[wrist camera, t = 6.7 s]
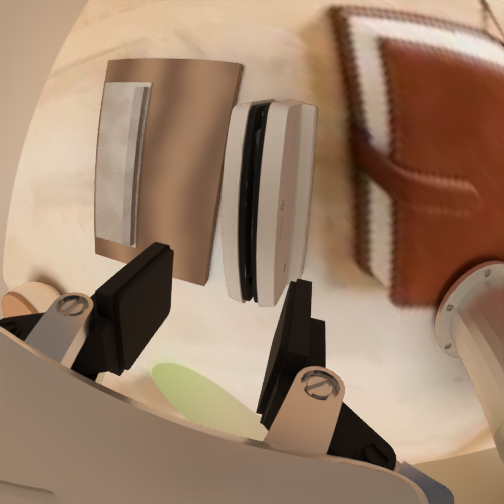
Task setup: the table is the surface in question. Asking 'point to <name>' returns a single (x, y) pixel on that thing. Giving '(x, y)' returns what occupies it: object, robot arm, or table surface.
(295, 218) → the white arched block
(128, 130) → the plate
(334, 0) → the table surface
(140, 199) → the mounting board
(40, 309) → the lidded jar
